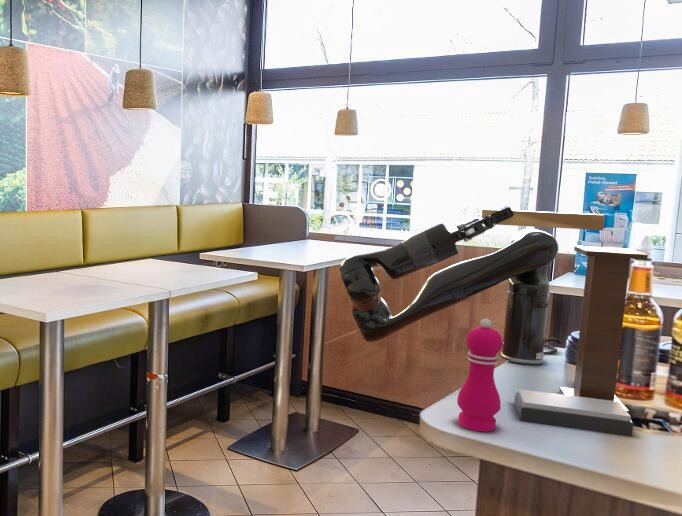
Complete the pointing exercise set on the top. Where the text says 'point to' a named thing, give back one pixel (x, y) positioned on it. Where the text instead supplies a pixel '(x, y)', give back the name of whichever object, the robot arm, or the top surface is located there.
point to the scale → (573, 412)
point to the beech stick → (551, 219)
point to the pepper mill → (480, 380)
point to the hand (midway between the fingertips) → (510, 210)
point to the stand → (601, 322)
